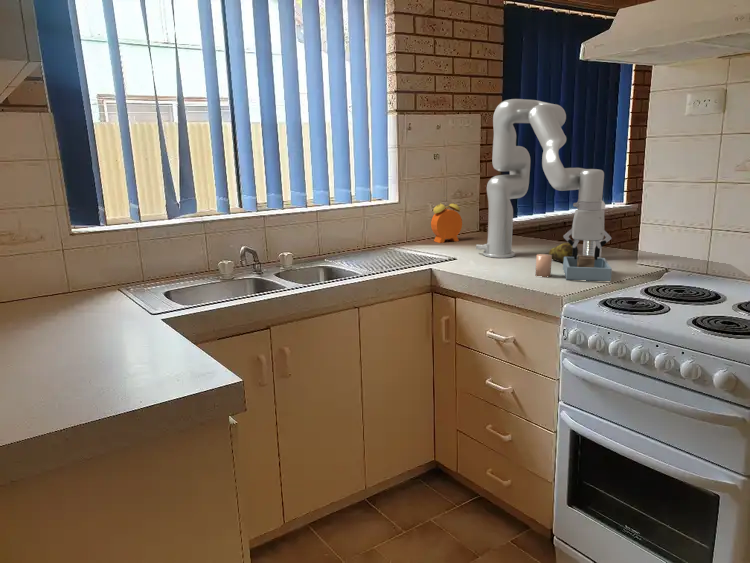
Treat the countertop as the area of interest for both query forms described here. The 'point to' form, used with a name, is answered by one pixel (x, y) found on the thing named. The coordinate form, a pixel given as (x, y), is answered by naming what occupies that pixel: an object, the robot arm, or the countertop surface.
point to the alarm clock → (446, 223)
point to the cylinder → (543, 265)
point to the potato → (561, 252)
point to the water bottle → (592, 242)
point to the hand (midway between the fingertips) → (585, 258)
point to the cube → (585, 261)
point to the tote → (587, 270)
